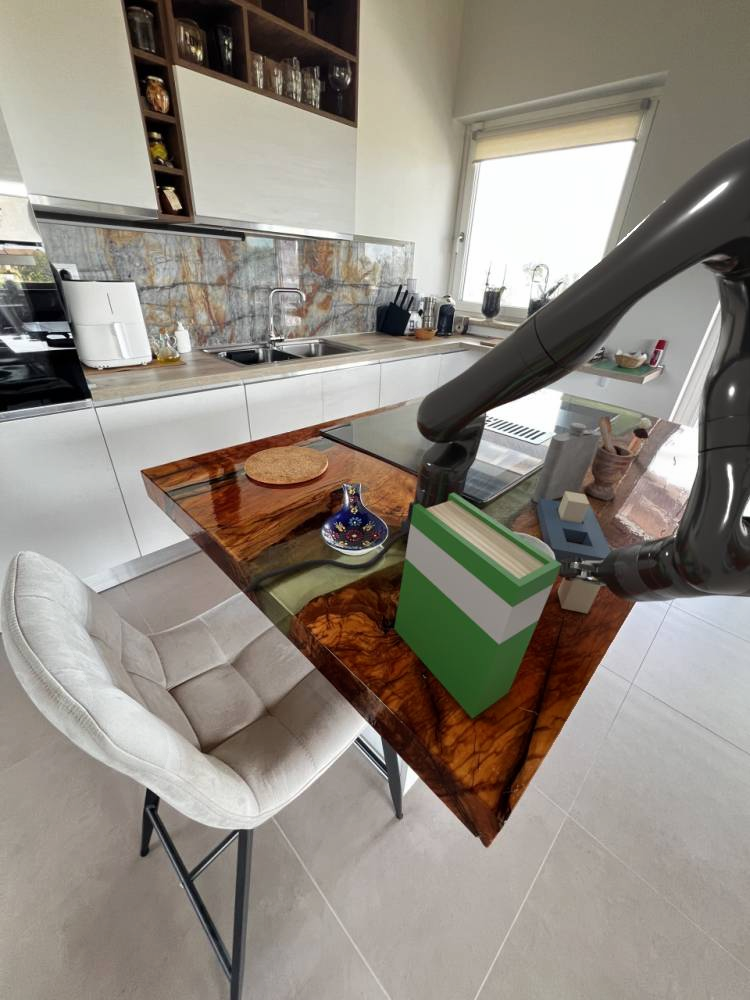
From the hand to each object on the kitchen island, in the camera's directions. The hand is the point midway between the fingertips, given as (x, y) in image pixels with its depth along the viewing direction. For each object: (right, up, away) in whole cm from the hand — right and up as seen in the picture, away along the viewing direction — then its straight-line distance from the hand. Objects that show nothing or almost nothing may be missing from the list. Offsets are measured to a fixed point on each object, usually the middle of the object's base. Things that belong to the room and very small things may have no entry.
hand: (594, 579), depth 68 cm
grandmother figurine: (+51, +29, +72) cm, 93 cm away
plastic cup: (-13, -6, +7) cm, 15 cm away
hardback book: (-25, -11, -5) cm, 28 cm away
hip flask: (+12, +14, +43) cm, 47 cm away
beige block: (0, -6, +8) cm, 10 cm away
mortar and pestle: (+24, +16, +47) cm, 55 cm away
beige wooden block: (+9, +7, +30) cm, 32 cm away
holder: (+8, +5, +26) cm, 28 cm away
